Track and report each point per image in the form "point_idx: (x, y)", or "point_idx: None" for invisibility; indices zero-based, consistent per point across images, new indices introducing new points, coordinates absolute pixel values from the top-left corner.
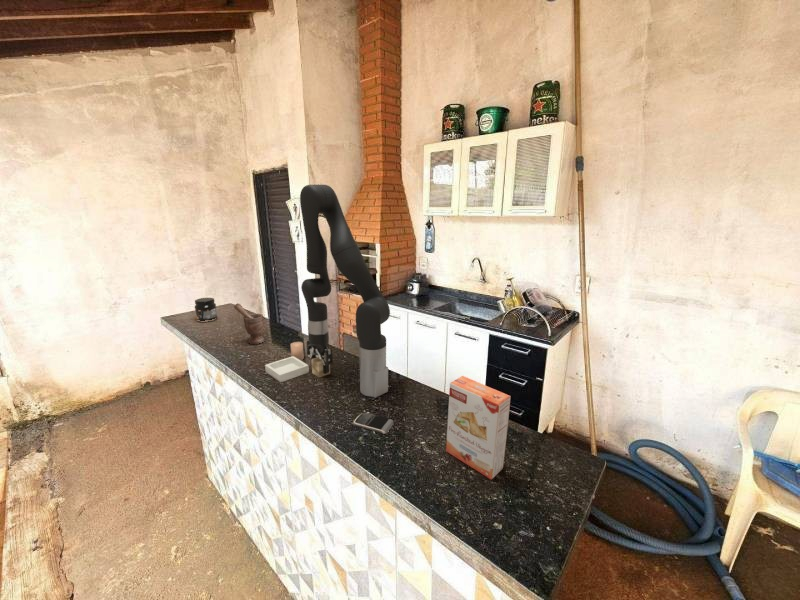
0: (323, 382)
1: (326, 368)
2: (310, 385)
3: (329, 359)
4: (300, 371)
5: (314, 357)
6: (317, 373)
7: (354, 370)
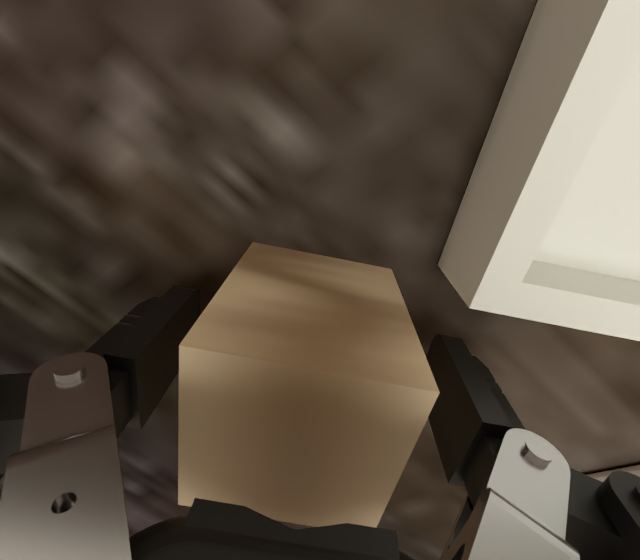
0: (125, 188)
1: (107, 337)
2: (164, 27)
3: (178, 502)
4: (503, 163)
5: (463, 460)
6: (276, 261)
7: (139, 465)
